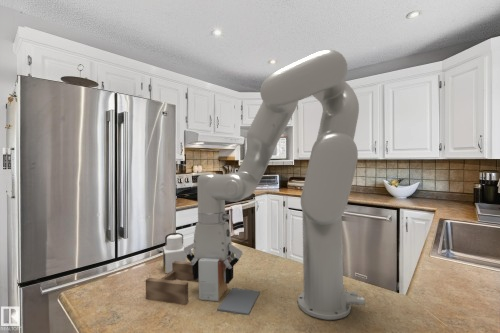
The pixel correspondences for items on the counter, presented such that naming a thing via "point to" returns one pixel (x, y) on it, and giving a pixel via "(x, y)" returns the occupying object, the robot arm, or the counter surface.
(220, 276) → the small box
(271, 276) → the counter surface
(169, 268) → the medicine bottle
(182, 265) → the nook
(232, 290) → the mat
